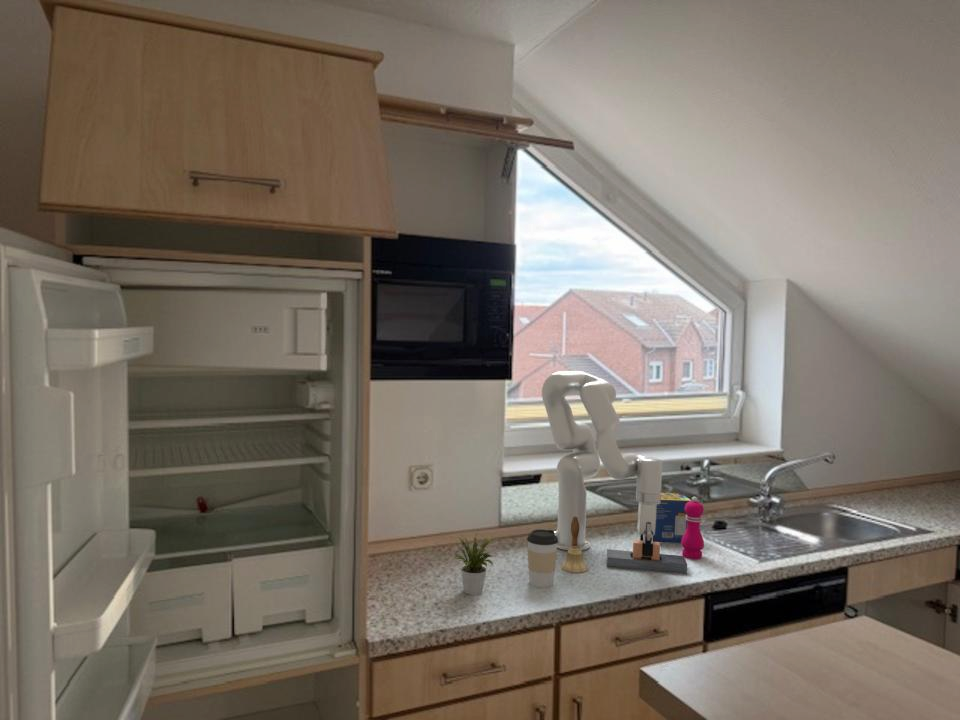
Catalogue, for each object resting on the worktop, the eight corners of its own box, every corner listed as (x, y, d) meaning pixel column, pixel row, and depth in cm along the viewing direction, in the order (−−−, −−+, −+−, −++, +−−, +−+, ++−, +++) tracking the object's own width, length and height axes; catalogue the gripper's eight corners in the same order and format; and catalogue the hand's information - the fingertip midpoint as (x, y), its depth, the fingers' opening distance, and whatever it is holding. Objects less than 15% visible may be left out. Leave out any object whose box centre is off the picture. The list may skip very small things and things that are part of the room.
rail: (607, 566, 204) (607, 557, 204) (606, 558, 212) (607, 549, 212) (686, 574, 200) (687, 564, 200) (683, 565, 207) (683, 556, 207)
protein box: (639, 533, 241) (641, 492, 240) (680, 534, 241) (682, 493, 241) (647, 542, 230) (649, 499, 230) (691, 543, 231) (692, 500, 230)
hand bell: (563, 573, 197) (565, 520, 197) (558, 563, 206) (560, 513, 205) (590, 573, 198) (592, 521, 197) (584, 563, 206) (586, 513, 206)
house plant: (441, 601, 173) (443, 540, 173) (444, 581, 187) (445, 525, 186) (495, 602, 173) (497, 541, 173) (493, 583, 187) (495, 526, 187)
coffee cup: (534, 590, 183) (536, 537, 182) (520, 579, 191) (521, 528, 190) (562, 586, 186) (564, 534, 186) (547, 575, 195) (548, 525, 194)
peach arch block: (632, 566, 205) (633, 543, 205) (632, 563, 208) (633, 539, 208) (659, 569, 203) (660, 545, 203) (658, 565, 207) (659, 542, 206)
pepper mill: (704, 560, 212) (707, 500, 212) (681, 558, 214) (684, 498, 213) (702, 553, 219) (704, 495, 219) (679, 551, 221) (682, 493, 220)
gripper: (634, 490, 214) (632, 541, 215) (637, 502, 197) (635, 559, 198) (658, 491, 213) (656, 543, 213) (663, 504, 196) (661, 561, 196)
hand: (646, 551), depth 206 cm, fingers open, 9 cm apart
